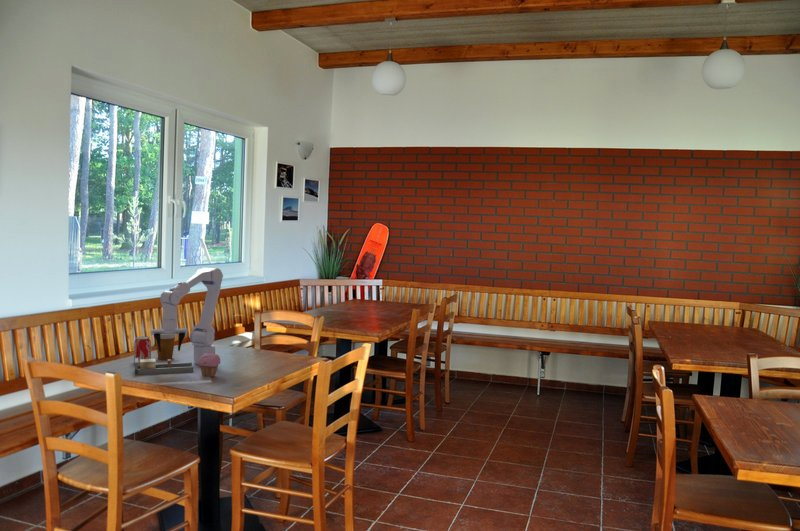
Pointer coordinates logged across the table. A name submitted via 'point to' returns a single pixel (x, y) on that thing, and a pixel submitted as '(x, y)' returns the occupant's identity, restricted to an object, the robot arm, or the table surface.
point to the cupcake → (209, 364)
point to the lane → (174, 368)
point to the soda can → (142, 348)
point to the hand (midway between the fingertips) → (169, 350)
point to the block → (152, 364)
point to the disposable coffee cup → (166, 346)
